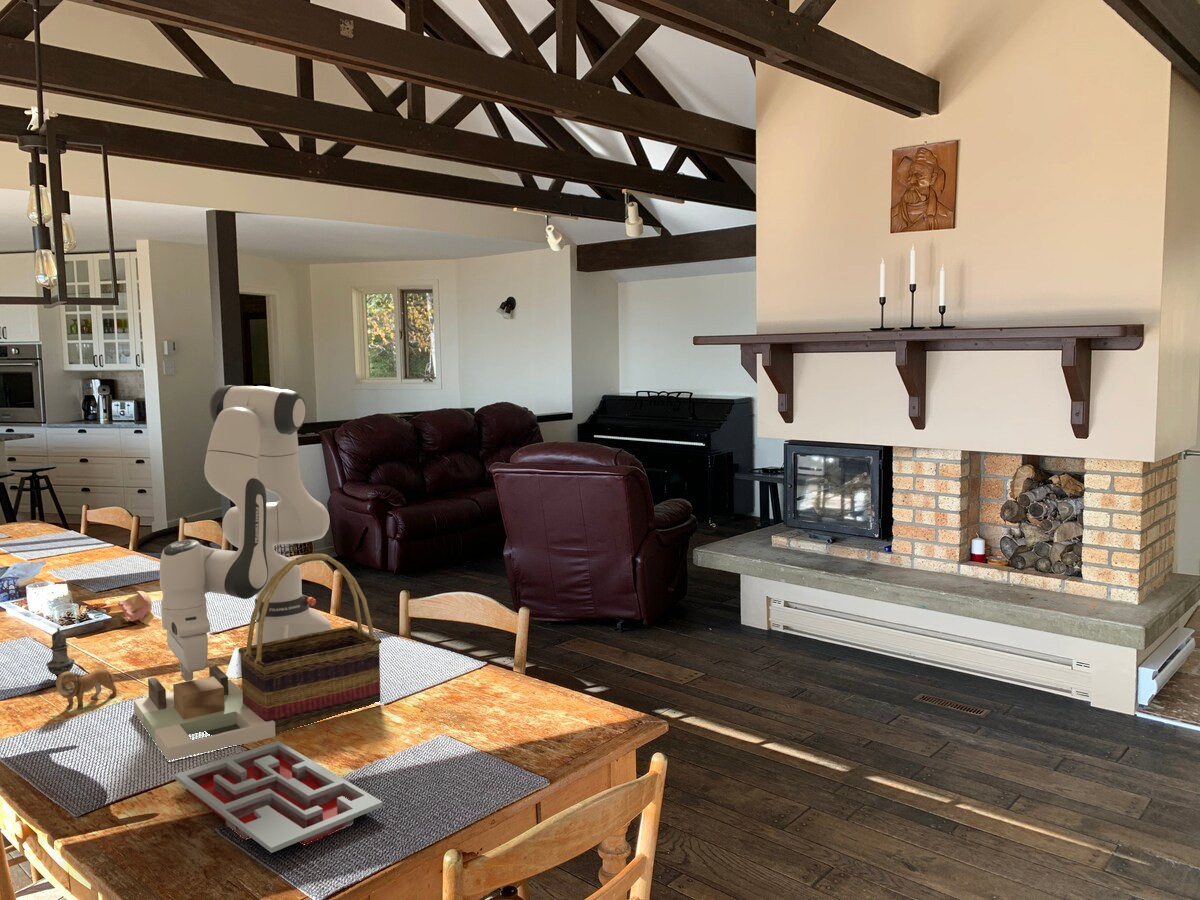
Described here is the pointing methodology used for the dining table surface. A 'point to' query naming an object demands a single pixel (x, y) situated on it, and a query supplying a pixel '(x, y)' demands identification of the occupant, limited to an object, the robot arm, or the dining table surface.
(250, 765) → the maze game
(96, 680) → the lion figurine
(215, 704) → the tan square block
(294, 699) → the basket
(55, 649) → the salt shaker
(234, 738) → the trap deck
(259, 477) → the robot arm
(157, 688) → the dark brown bars
